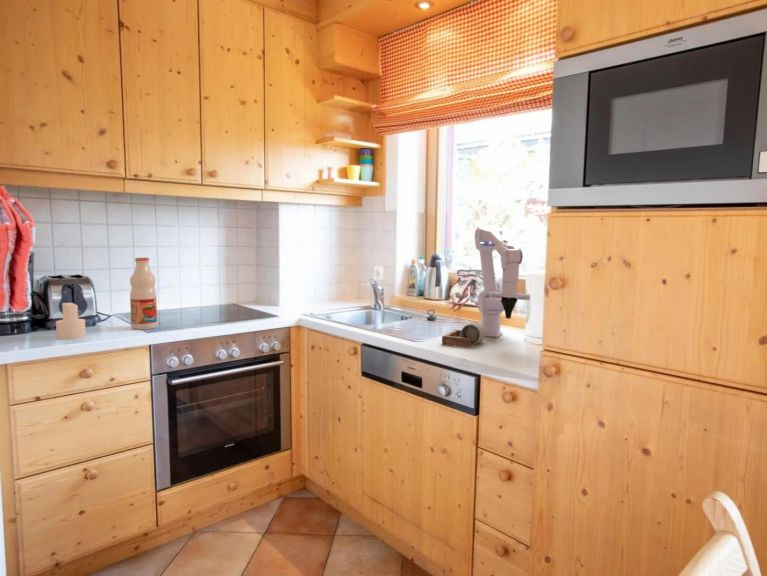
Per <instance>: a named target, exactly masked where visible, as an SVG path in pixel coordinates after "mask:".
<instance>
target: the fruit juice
mask: <svg viewBox="0 0 767 576" xmlns="http://www.w3.org/2000/svg"><path fill="white" fill-rule="evenodd" d="M135 263H136V264H135V269H134V271H133V273H132V274H131V276H130V278H129V283H130V286H131V289H130V294H129V299H130V300H129V302H130V326H131V329H132V330H135V331H137V330H139V331H140V330H141V331H142V330H152V329H155V328H157V325H158V311H157V291H156V288H155V285H156V277H155V275H154V274H153V273H152V271H151V269H150V266H149V263H150V258H149V257H136V258H135Z"/></svg>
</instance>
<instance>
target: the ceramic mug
mask: <svg viewBox="0 0 767 576" xmlns="http://www.w3.org/2000/svg"><path fill="white" fill-rule="evenodd" d="M460 330H461V336H458V337H462V338H470V339H471V346H474V345H476V344H479V343H480V342H482V341H483V340H484V339H485V337H486V336H485V334H486V332H485V329H484V327H483V326H482V325H481V324H480V323H468V324H465V325H464V326H462V328H461V329H460Z"/></svg>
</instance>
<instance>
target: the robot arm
mask: <svg viewBox="0 0 767 576" xmlns="http://www.w3.org/2000/svg"><path fill="white" fill-rule="evenodd" d="M502 231H503V230H502V229H501V228H500V227H481V226H478V227H477V228H476V229H475V231H474V244H475V249H476V250H477V251H478V252H479V258H480V265H481V275H482V282H483V285H482V286H483V290H481V291H480V292H479V293H478V296H477V309H478V311H479V312H480V313H481V321H480V322H481V324H480V325H482V326H483V327H484V329H485V332H486V334H485V337H492V338H498V337H500V336H501V335H502V334H503V332H502V331H501V324H502V323H501V322H502V316H501V315H502V313H504V314H505V319H510V320H511V317H512V314H513V310H514V308H515V306H516V304H517V302H518V300H520V301H521V300H522V301H530V300H531V294H526V293H518V291H519V278H520V277H519V274H520V265H521V264H522V262H523V258H524V256H523V252H522V251H523V250H521V248H519V247H518V248H515V247H514V246H513V244H512V243H511V242H510V241H509V239H508V238H503V232H502ZM494 251H496V252H497V253H498V255H499V256H500V262H501V269H502V279H501V280H502V281H501V290H499V289H498V288H497V283H496V277H495V276H496V274H495V266H494V258H493V252H494Z"/></svg>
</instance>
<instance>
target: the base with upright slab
mask: <svg viewBox="0 0 767 576" xmlns="http://www.w3.org/2000/svg"><path fill="white" fill-rule="evenodd" d="M78 307H79V306H78V305H77V304H76V303H74V302H62V319H59V320H57V321H56V320H55V326H56V327H55V329H56V331H55V332H56V333H55V334H56V339H58V340H59V341H60V340H64V341H68V340H69V341H70V340H71V341H72V340H78V339H83V338H86V336H87V332H86V319H84V318H79V308H78Z"/></svg>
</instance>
